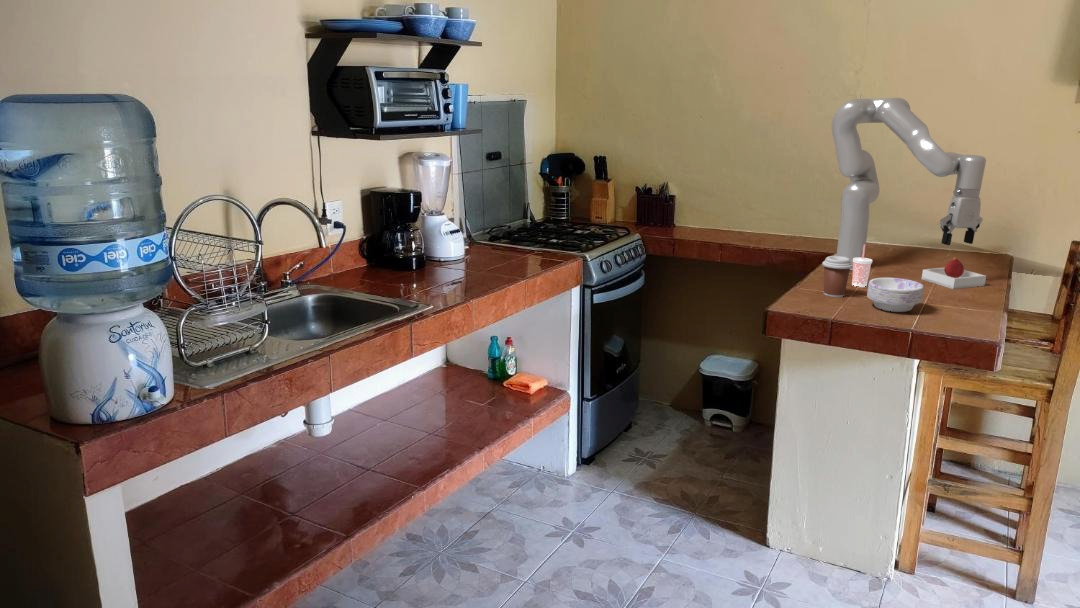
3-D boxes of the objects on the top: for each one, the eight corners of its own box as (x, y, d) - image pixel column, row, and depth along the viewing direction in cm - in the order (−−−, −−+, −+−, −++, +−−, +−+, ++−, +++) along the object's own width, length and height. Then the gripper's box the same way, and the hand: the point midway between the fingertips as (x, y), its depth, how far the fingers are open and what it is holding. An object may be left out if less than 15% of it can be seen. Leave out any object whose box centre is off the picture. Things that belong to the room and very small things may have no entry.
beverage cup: (845, 284, 261) (850, 243, 257) (859, 282, 264) (864, 242, 260) (859, 288, 256) (864, 247, 252) (873, 286, 258) (878, 245, 254)
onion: (960, 278, 266) (964, 256, 264) (963, 282, 261) (966, 259, 258) (942, 277, 268) (945, 254, 266) (944, 281, 263) (947, 258, 260)
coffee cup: (845, 300, 242) (850, 262, 239) (815, 295, 247) (819, 259, 244) (851, 293, 250) (856, 257, 246) (822, 289, 254) (826, 253, 251)
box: (953, 289, 256) (954, 278, 255) (921, 279, 268) (922, 269, 267) (984, 285, 260) (986, 275, 259) (952, 276, 273) (953, 266, 272)
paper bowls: (855, 306, 236) (858, 281, 234) (883, 298, 244) (887, 274, 242) (902, 318, 224) (906, 292, 222) (930, 310, 233) (934, 284, 230)
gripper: (955, 195, 250) (945, 247, 255) (996, 194, 255) (985, 245, 260) (937, 192, 256) (928, 242, 262) (977, 190, 262) (967, 240, 267)
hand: (956, 243), depth 261 cm, fingers open, 9 cm apart
